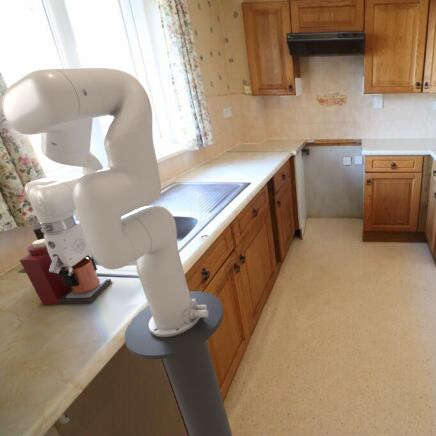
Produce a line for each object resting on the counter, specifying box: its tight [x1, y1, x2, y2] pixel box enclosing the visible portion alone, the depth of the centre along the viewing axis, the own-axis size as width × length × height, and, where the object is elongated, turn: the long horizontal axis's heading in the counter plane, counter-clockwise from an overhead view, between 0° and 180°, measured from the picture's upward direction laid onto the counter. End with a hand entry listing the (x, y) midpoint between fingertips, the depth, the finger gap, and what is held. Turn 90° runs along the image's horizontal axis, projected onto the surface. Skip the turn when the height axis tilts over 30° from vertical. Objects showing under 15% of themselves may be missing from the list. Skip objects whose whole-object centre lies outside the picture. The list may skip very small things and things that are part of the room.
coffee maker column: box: [19, 244, 71, 306], centre depth 94 cm, size 6×10×17 cm, turn 179°
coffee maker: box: [58, 278, 113, 305], centre depth 94 cm, size 9×10×15 cm
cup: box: [65, 257, 100, 293], centre depth 95 cm, size 7×7×8 cm
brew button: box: [31, 239, 46, 248], centre depth 90 cm, size 3×3×2 cm
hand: (82, 277), depth 95 cm, fingers closed on cup, 6 cm apart
